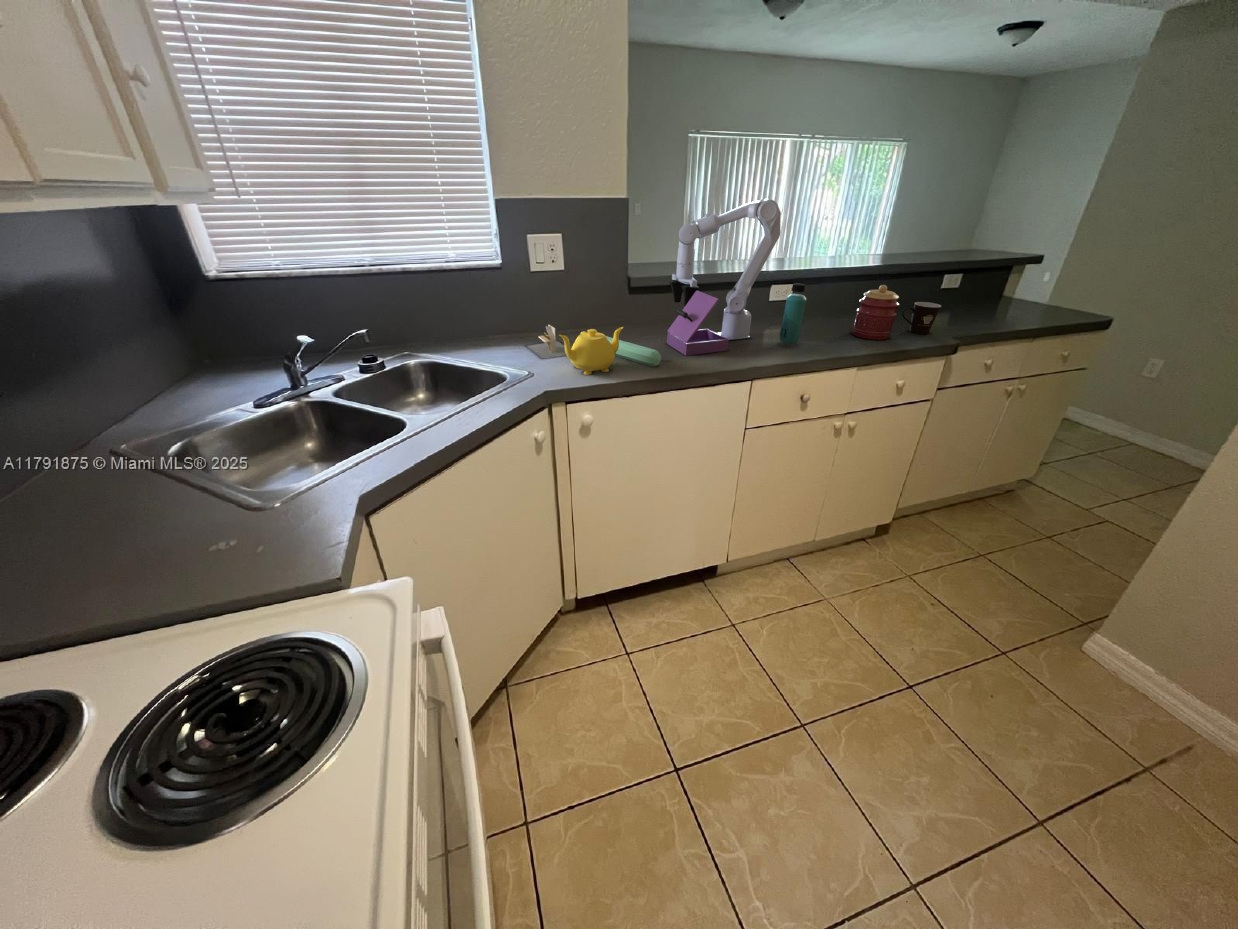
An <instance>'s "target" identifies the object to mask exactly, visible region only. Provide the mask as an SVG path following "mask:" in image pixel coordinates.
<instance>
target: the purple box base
mask: <svg viewBox="0 0 1238 929" xmlns="http://www.w3.org/2000/svg"><path fill="white" fill-rule="evenodd" d="M717 333H718V332H715V331H713V330H711V329H709V328H702V329H700V328H699V329H698V330H697V331H696V332H695V334H694V335H693V336H692V338H691V339H690V340H689V342H688V343H686V342H684V341H683V340H681V339H679V338H678V337H676V336H674V335H673V334H671V333H669V332H667V336H666V344H667V345H668V346H670V347H671V348H673V349H675V350H676V351H678V352H679V353H681V354H682V355H684V356H695V355H703V354H711V353H721V352H728V350H729V343H730V340H729V339H727V338H725V337H723V336H721V335H719V334H717Z"/></svg>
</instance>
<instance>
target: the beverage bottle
mask: <svg viewBox="0 0 1238 929" xmlns="http://www.w3.org/2000/svg"><path fill="white" fill-rule="evenodd" d="M805 290H806V284H804V283H793V284H792V286H791V292H795V293H791V294H789V295H788V296H787V297H786V300H785V306H784V309H783V310H784V311H783V317H782V323H781V327H780V332H779V341H780V342H781V343H786V344H797V343H798V342H799V339H800V336H801V335H800V334H801V330H802V329H801V328H802V325H803V319H804V318H803V317H804V312H805V307H806V303H807V297H806V296H805V295H804V294H800V293H804V292H805Z"/></svg>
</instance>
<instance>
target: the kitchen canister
mask: <svg viewBox="0 0 1238 929" xmlns="http://www.w3.org/2000/svg"><path fill="white" fill-rule="evenodd" d="M863 296H864V297H863V298H862V297H861V298H860V299H859V303H860V304H859V306H858V307H859V308H857V309H856V314H855V319H854V322H853V325H852V328H851V334H852V335H853V336H856V337H858V338H862V339H867V340H879V341H881V340H882V341H883V340H887V339H889V338H890V336H891V334H892V330H893V326H894V324H895V320H896V317H897V309H898V307H899V306H901V305H900V302H898V300H899V298H900V296H899V295H898V294H896V292H894V291H891V290H888V286H887V285H886V284H881V285H880V286H879V287H878V289H869V290H868V291H866V292H864V293H863Z"/></svg>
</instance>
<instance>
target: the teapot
mask: <svg viewBox="0 0 1238 929" xmlns="http://www.w3.org/2000/svg"><path fill="white" fill-rule="evenodd" d="M623 329H624V326H621V327H618V328H616V330H615V331H614V333H613V337H612V338H613V341H612V343H610V342H609V340H608V338H607V337H608V336H607V335H606V334H604V333H602V332H598V331H597V329H595V328H590V329H587V330H586V331H581V332H580V334H579V335H577V337H576V338H575V341H574V342H573V344H572V346H571V344H570V340H569V338H568V336H567V335H563V334H558V336H559V337H560V338H561V339H562V341H563V345H564V346H565V353H566V355H565V356H566V357H567V358H568V359H569V360H570V362H571V363H572V364H573V366H575V367H576V369H579V370H584V371H583V375H585V376H586V375H587V376H588V375H589V376H590V375H592V372H593V371H601V372H603V373H608V372H610V370H609V368H610V367H611V366H612V365H613V363H614V362H615V359H616V356H615V353H616V352H617V350H618V348H619V340H620V333H621V331H622V330H623ZM606 336H607V337H606Z"/></svg>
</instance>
